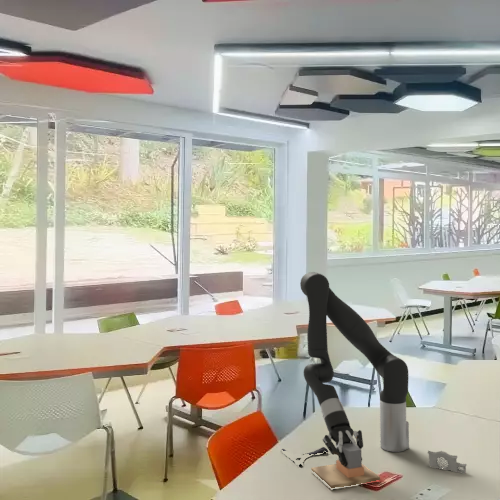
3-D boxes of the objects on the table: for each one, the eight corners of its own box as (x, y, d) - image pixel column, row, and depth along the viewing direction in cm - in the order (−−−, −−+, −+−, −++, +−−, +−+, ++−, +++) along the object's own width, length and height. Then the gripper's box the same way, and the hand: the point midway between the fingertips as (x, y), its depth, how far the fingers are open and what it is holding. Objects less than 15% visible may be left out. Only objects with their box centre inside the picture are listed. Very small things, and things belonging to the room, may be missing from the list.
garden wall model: (466, 472, 179) (466, 454, 179) (465, 474, 177) (465, 456, 177) (428, 465, 185) (428, 447, 185) (427, 467, 184) (427, 449, 183)
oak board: (357, 464, 186) (357, 460, 186) (380, 482, 173) (380, 476, 173) (311, 472, 181) (311, 467, 181) (331, 490, 167) (331, 485, 167)
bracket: (337, 461, 191) (337, 453, 191) (299, 469, 185) (298, 460, 185) (317, 447, 204) (317, 440, 204) (280, 454, 199) (280, 446, 199)
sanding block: (351, 465, 182) (351, 441, 182) (364, 474, 174) (363, 449, 174) (336, 467, 180) (335, 443, 180) (348, 477, 173) (348, 452, 173)
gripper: (318, 412, 182) (336, 462, 171) (356, 407, 186) (377, 455, 175) (312, 423, 187) (329, 472, 176) (349, 418, 192) (368, 466, 180)
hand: (352, 464), depth 176 cm, fingers closed on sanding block, 4 cm apart
